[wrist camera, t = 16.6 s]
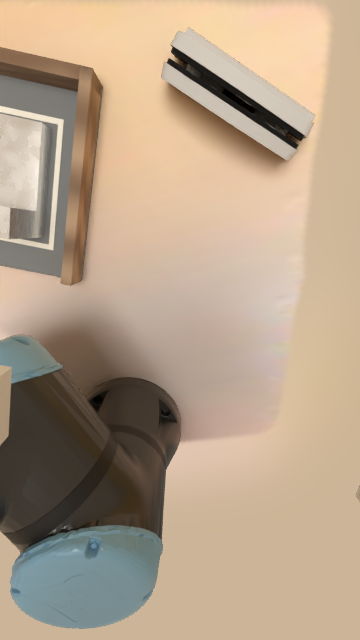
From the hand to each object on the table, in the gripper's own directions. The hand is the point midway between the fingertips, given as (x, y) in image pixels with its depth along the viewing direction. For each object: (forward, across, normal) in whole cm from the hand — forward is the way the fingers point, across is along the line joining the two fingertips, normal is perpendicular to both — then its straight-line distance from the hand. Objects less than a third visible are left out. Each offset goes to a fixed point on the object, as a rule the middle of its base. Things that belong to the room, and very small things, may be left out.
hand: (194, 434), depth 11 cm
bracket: (+30, -22, +8) cm, 38 cm away
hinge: (+31, +1, +21) cm, 37 cm away
